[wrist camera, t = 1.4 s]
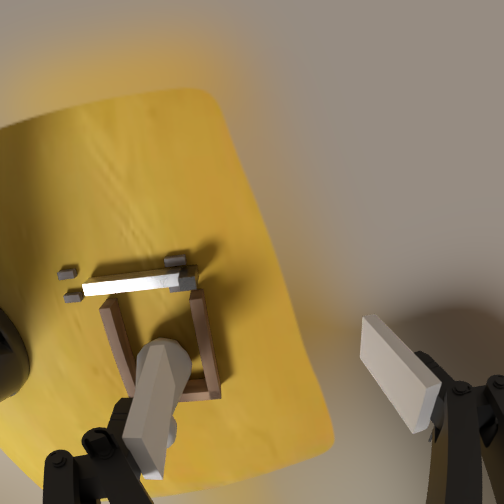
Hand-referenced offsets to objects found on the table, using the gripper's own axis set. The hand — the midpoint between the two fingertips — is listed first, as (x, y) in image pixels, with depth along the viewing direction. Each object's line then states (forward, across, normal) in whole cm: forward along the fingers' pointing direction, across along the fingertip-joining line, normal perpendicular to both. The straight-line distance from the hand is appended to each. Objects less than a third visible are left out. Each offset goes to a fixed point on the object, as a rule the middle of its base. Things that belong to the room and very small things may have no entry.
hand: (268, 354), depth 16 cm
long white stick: (+16, -10, 0) cm, 18 cm away
